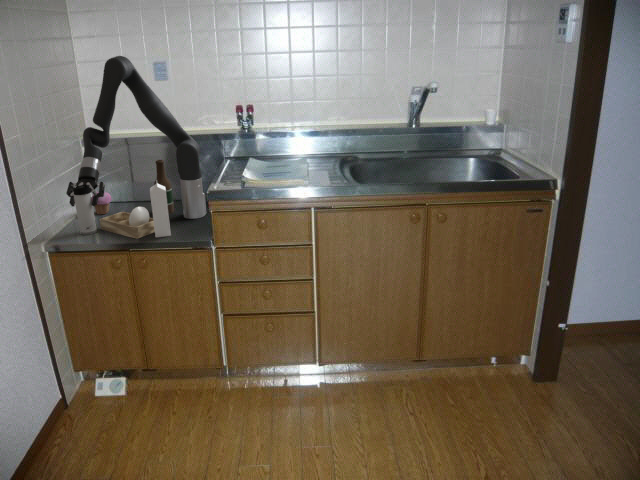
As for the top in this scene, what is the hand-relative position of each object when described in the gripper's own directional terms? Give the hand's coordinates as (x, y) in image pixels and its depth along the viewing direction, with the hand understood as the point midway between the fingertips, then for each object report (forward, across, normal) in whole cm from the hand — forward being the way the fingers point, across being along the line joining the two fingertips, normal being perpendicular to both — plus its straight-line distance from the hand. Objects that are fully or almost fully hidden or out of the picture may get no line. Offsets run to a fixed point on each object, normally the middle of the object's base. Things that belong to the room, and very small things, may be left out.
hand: (82, 205), depth 218 cm
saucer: (+7, +21, +8) cm, 24 cm away
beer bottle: (-11, +25, +28) cm, 39 cm away
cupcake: (-11, -4, +28) cm, 30 cm away
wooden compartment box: (+5, +16, +11) cm, 20 cm away
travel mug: (+8, 0, +9) cm, 12 cm away
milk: (+10, +31, +7) cm, 34 cm away
